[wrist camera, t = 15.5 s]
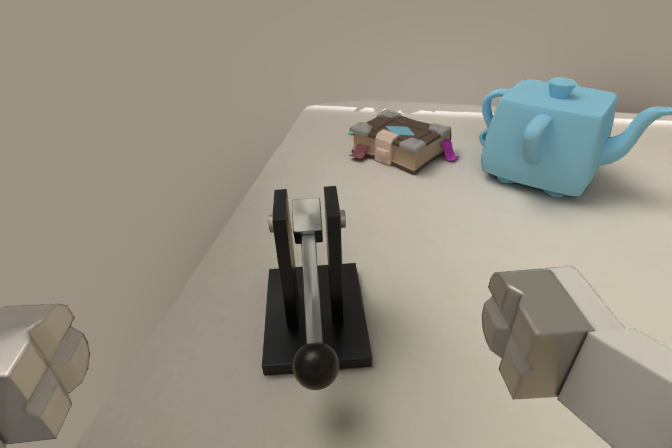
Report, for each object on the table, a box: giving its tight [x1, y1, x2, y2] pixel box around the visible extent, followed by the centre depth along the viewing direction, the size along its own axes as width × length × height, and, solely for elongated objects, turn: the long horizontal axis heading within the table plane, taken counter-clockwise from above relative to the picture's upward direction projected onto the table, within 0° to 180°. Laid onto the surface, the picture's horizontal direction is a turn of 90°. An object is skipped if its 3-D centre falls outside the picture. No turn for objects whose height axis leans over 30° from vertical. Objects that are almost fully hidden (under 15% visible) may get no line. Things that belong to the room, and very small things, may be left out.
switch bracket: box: [262, 186, 372, 375], centre depth 37 cm, size 12×9×13 cm
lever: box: [292, 198, 339, 390], centre depth 32 cm, size 14×3×3 cm, turn 5°
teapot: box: [479, 77, 672, 197], centre depth 57 cm, size 18×16×14 cm
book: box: [348, 109, 460, 174], centre depth 67 cm, size 20×12×5 cm, turn 49°
